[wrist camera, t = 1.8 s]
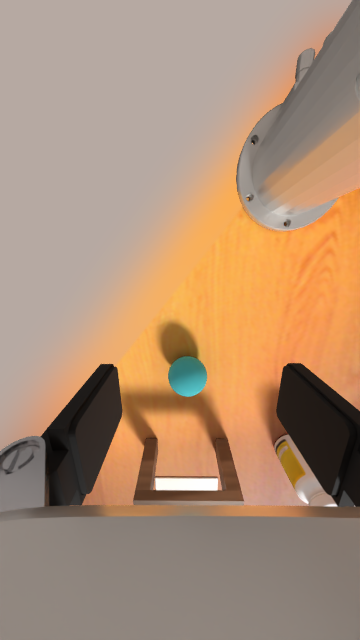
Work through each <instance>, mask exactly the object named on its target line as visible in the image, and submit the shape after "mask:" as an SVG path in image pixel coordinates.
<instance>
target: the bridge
mask: <svg viewBox="0 0 360 640" xmlns="http://www.w3.org/2000/svg"><path fill="white" fill-rule="evenodd" d="M215 452H216V458H217V463H218V469H219V474H220V480H221V485H222V491H221V490H153V486H154V478H155V471H156V463H157V455H158V442H157V438H146V442H145V447H144V451H143V456H142V461H141V466H140V471H139V475H138V480H137V485H136V490H135V495H134V500H133V502H134V505H244V499H243V495H242V492H241V488H240V484H239V480H238V477H237V473H236V469H235V465H234V462H233V458H232V454H231V450H230V446H229V443H228V439H216V450H215Z"/></svg>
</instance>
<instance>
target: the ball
mask: <svg viewBox="0 0 360 640" xmlns="http://www.w3.org/2000/svg"><path fill="white" fill-rule="evenodd" d="M168 379H169V383H170V385H171V387H172V389H173V390H174V391H175V392H176V393H178V394H179V395H182V396H186V397H190V396H194V395H196V394H198V393H199V392H201V391H202V389H203V388H204V386H205V384H206V381H207V372H206V369H205V367H204V365H203V364H202V363H201V361H199V360H198V359H196V358H194V357H190V356H184V357H181V358H179V359H177V360H176V361H174V363H173V364H172V365H171V367H170V369H169V373H168Z"/></svg>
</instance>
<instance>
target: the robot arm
mask: <svg viewBox="0 0 360 640" xmlns="http://www.w3.org/2000/svg"><path fill="white" fill-rule="evenodd" d="M314 56H315V50H314V49H312V48H310V49H307V50H305V51H304V52H302V53H301V54H300V56H299V57H298V60H297V68H296V76H295V78H296V82H295V84H294V86H293V88H292V89H291V91H290V93H289V94H288V96H287V98H286V99H285V101H284V102H283V103H282V104H280V105H278V106H276V107H275V108H273V109H272V110H270V111H269V112H268V113H267V114H266V115H264V116H263V118H262V119H261V120H260V121H259V122H258V123H257V124H256V126H255V127H254V128H253V130H252V131H251V133H250V135H249V136H248V138H247V140H246V142H245V144H244V146H243V149H242V151H241V154H240V158H239V162H238V166H237V176H236V182H237V191H238V195H239V198H240V202H241V204H242V206H243V208H244V210H245V211H246V213H247V214H248V215H249V216H250V218H251V219H252V220H254V221H255V222H256V223H257V224H258V225H260V226H262V227H264V228H266V229H269V230H273V231H291V230H296V229H299V228H302V227H305V226H307V225H309V224H311V223H313V222H315V221H316V220H317V219H319V218H320V217H322V216H323V215H324V214H325V213H326V212H327V211H328V210H329V209H330V208H331V207H332V206H333V205H334V203H335V202H336V201H337V199H338V198H339V197H340V196H342V195H345V194H347V193H349V192H351V191H354V190H356V189H358V188H360V0H352V2H351V4H350V5H349V6H348V8H347V10H346V11H345V13H344V14H343V16H342V17H341V19H340V20H339V22H338V24H337V25H336V27H335V28H334V30H333V31H332V32H331V33H330V34H329V35H328V36H327V37H326V39H325V41H324V44H323V47H322V49H321V50H320V52H319V54H318V55H317V56H316V58H315V59H314ZM252 143H253V144H254V145H253V144H252ZM246 198H249V201H247V200H246ZM284 223H285V226H284ZM276 412H277V416H278V418H279V420H280V422H281V423H282V425H283V426H284V428H285V429H286V431H287V433H288V434H289V436H290V437H291V439H292V441H293V442H294V444H295V445H296V447H297V448H298V450H299V452H300V453H301V455H302V456H303V458H304V460H305V461H306V463H307V464H308V466H309V467H310V469H311V471H312V472H313V474H314V475H315V477H316V479H317V480H318V482H319V483H320V485H321V486H322V488H323V490H324V491H325V492H326V493H327V494H328V495H331V497H332V498H333V500H334V501H335V503H336V504H337V506H338V507H337V506H247V505H83V506H70V505H82V503H83V501H84V498H85V496H86V494H89V493H90V492H91V491H92V489H93V486H94V484H95V481H96V479H97V476H98V474H99V472H100V469H101V467H102V464H103V462H104V459H105V457H106V454H107V452H108V449H109V447H110V444H111V442H112V439H113V437H114V434H115V432H116V429H117V427H118V424H119V422H120V419H121V417H122V404H121V396H120V387H119V379H118V370H117V367H114V365H113V364H101V365H100V366H99V367H98V368H97V369H96V371H95V372H94V373H93V374H92V375H91V376H90V378H89V379H88V380H87V381H86V383H85V384H84V385H83V386H82V387H81V389H80V390H79V391H78V392H77V393H76V394H75V396H74V397H73V398H72V399H71V401H70V402H69V403H68V404H67V405H66V407H65V408H64V409H63V410H62V411H61V413H60V414H59V415H58V416H57V417H56V419H55V420H54V421H53V422H52V423H51V425H50V426H49V427H48V428H47V430H46V431H45V432H44V433H43V434H42V436H41V437H38V436H31V437H26V438H23V439H20V440H18V441H15V442H13V443H11V444H10V445H8V446H7V447H5V448H4V449H2V450H1V451H0V640H360V411H359V410H358V409H356V408H355V407H354V406H353V405H351V404H350V403H349V402H348V401H347V400H345V399H344V398H343V397H342V396H340V395H339V394H338V393H337V392H336V391H334V390H333V389H332V388H331V387H329V386H328V385H327V384H326V383H325V382H323V381H322V380H321V379H320V378H318V377H317V376H316V375H315V374H314V373H312V372H311V371H310V370H309V369H307V368H306V367H305V366H304V365H303V364H301V363H288V364H287V365H286V366H284V368H283V372H282V378H281V384H280V390H279V397H278V403H277V409H276ZM354 505H355V506H356V507H354Z"/></svg>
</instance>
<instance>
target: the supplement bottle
mask: <svg viewBox="0 0 360 640" xmlns="http://www.w3.org/2000/svg"><path fill="white" fill-rule="evenodd" d="M274 449H275V452H276V454H277V456H278V458H279V460H280V462H281V464H282V466H283V468H284V470H285V472H286V474H287V476H288V478H289V480H290V481H291V483H292V485H293V487H294V489H295V491H296V493H297V495H298V496H299V498H300V499H301V500H302V501H304V502H306V503H308V504H309V506H337V504H336V503H335V501H334V500H333V498H332V497H331V495H328V494H327V493H326V492H325V491H324V490H323V488H322V486H321V485H320V483H319V482H318V480H317V479H316V477H315V475H314V474H313V472H312V471H311V469H310V467H309V466H308V464H307V463H306V461H305V460H304V458H303V456H302V455H301V453H300V452H299V450H298V448H297V447H296V445H295V444H294V442H293V441H292V439H291V437H290V436H289V434H288V435H284V436H282V437H280V438H279V439H278V440H277V441H276V443H275V446H274ZM337 507H338V506H337Z"/></svg>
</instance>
